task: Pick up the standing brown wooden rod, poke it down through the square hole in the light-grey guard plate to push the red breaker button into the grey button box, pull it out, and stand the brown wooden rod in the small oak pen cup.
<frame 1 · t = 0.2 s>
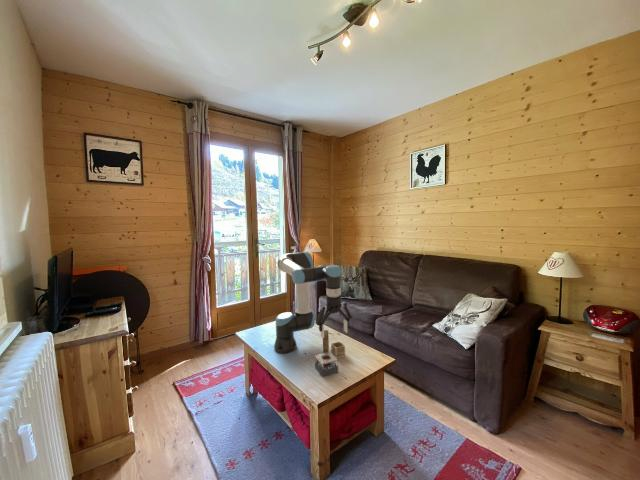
hand: (334, 334, 143), 27 cm above the table, fingers open, 13 cm apart
breaker button: (326, 361, 157), point 5 cm above the table, slide at 0.0 cm
pen cup: (338, 354, 174), on the table
brown wooden rod: (326, 358, 170), on the table
grey button box: (326, 370, 158), on the table
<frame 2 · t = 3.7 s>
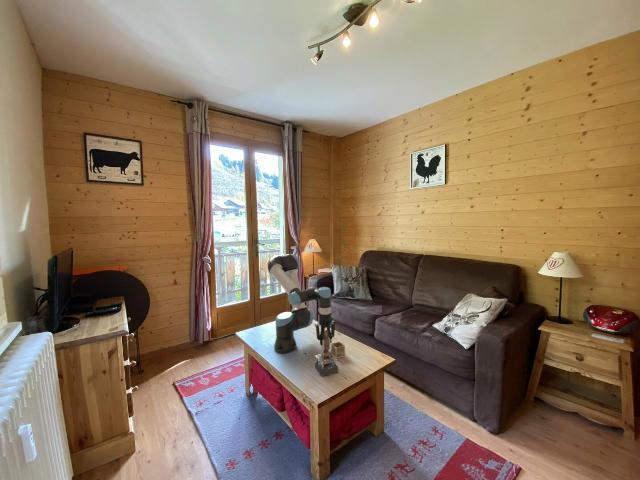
hand: (325, 348, 169), 7 cm above the table, fingers closed on brown wooden rod, 3 cm apart
brown wooden rod: (326, 358, 170), on the table, touching gripper
everything else where it was.
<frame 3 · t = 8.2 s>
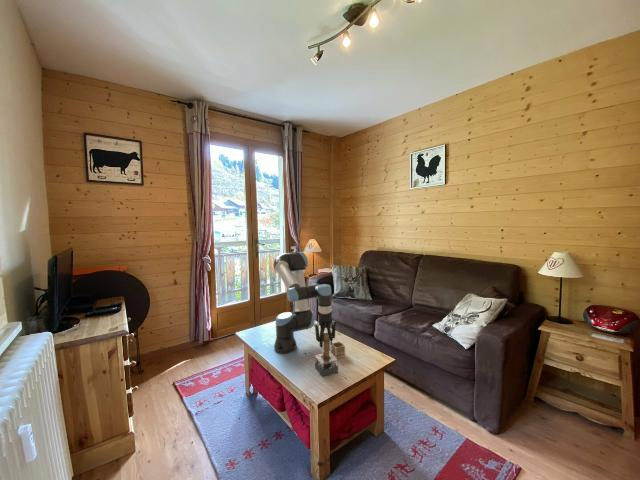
hand: (326, 351, 156), 12 cm above the table, fingers closed on brown wooden rod, 3 cm apart
breaker button: (326, 365, 158), point 3 cm above the table, slide at 2.2 cm, touching brown wooden rod
brown wooden rod: (326, 363, 157), point 4 cm above the table, touching breaker button, gripper
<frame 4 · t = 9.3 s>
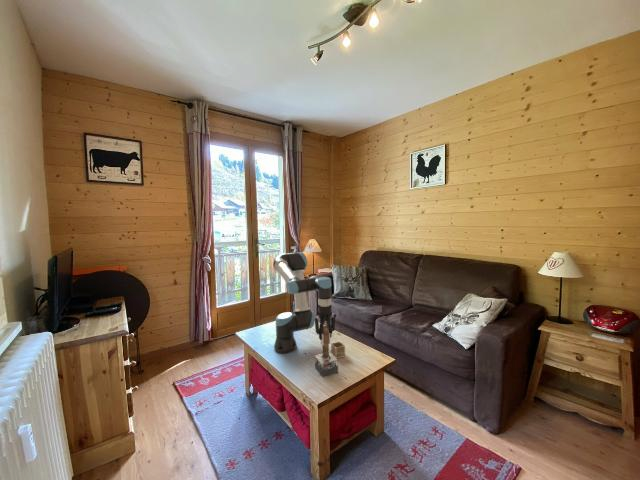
hand: (325, 343, 156), 16 cm above the table, fingers closed on brown wooden rod, 3 cm apart
breaker button: (326, 365, 158), point 3 cm above the table, slide at 2.2 cm
brown wooden rod: (325, 356, 157), point 8 cm above the table, touching gripper
when the fingers open (9 cm above the table, at t = 15.3 s): brown wooden rod stays where it is, resting on pen cup.
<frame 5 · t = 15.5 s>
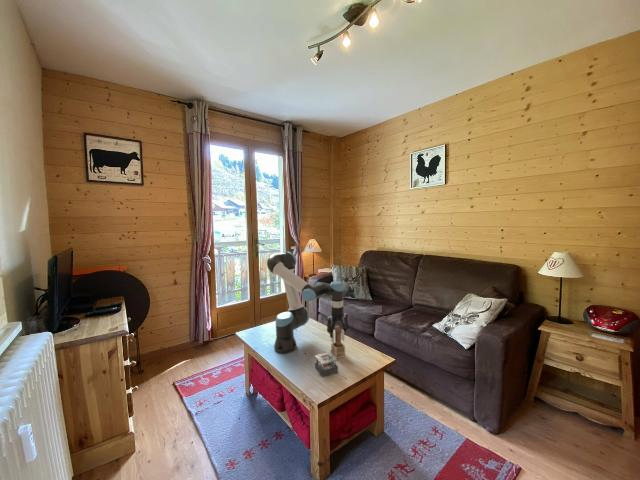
hand: (337, 341, 173), 9 cm above the table, fingers open, 7 cm apart
brown wooden rod: (338, 353, 174), point 1 cm above the table, touching pen cup
everything else where it was.
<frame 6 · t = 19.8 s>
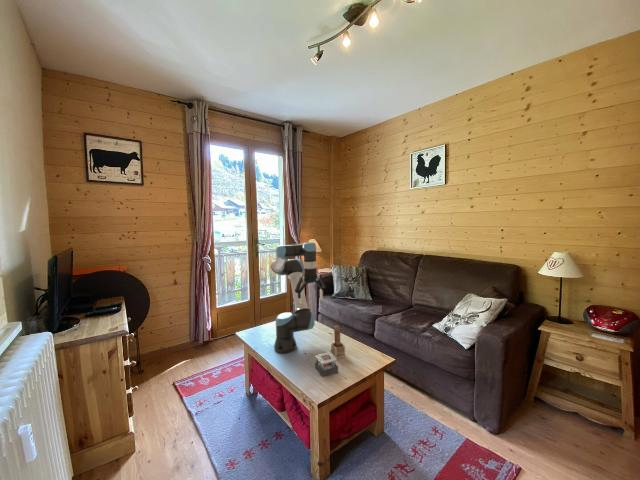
hand: (311, 301, 168), 37 cm above the table, fingers open, 13 cm apart
nothing on the table moved.
at the end: breaker button slide at 2.2 cm; brown wooden rod 0.1 cm off-centre on the pen cup, point 0.9 cm above the pen cup's base; brown wooden rod tilted 2° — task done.
